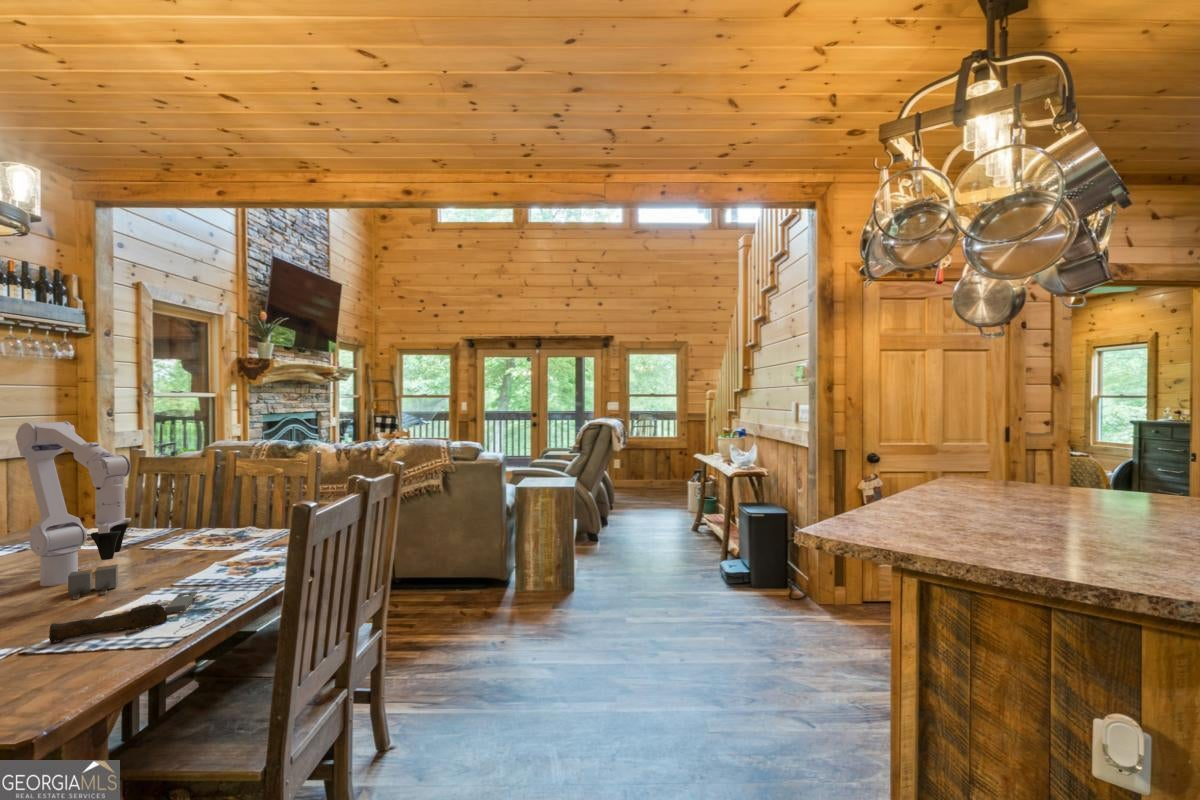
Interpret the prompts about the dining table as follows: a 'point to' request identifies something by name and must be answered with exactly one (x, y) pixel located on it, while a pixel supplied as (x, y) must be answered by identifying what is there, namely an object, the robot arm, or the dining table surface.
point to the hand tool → (109, 623)
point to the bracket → (181, 602)
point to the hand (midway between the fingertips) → (110, 555)
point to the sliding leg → (106, 578)
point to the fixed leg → (79, 583)
